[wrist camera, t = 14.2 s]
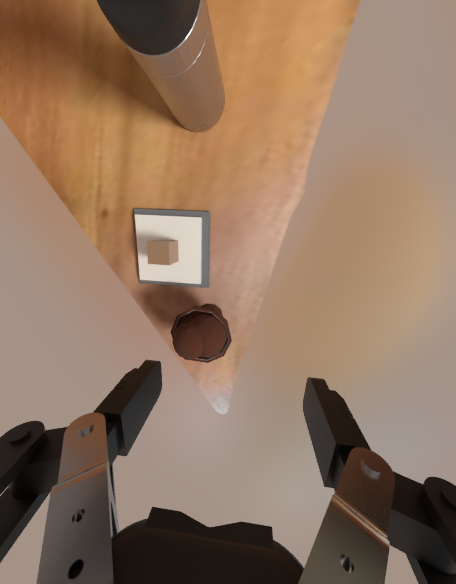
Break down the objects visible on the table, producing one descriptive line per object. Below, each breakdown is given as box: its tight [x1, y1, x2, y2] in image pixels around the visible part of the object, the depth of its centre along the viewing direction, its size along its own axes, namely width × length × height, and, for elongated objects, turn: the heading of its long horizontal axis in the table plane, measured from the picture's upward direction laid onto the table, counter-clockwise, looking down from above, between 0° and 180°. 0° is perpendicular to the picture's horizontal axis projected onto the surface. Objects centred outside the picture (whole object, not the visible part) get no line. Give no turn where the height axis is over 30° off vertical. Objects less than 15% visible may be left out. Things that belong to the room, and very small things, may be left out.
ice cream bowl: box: [171, 304, 232, 363], centre depth 40 cm, size 11×11×15 cm
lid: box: [135, 214, 202, 284], centre depth 40 cm, size 13×13×6 cm
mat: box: [134, 209, 210, 288], centre depth 43 cm, size 15×15×1 cm
